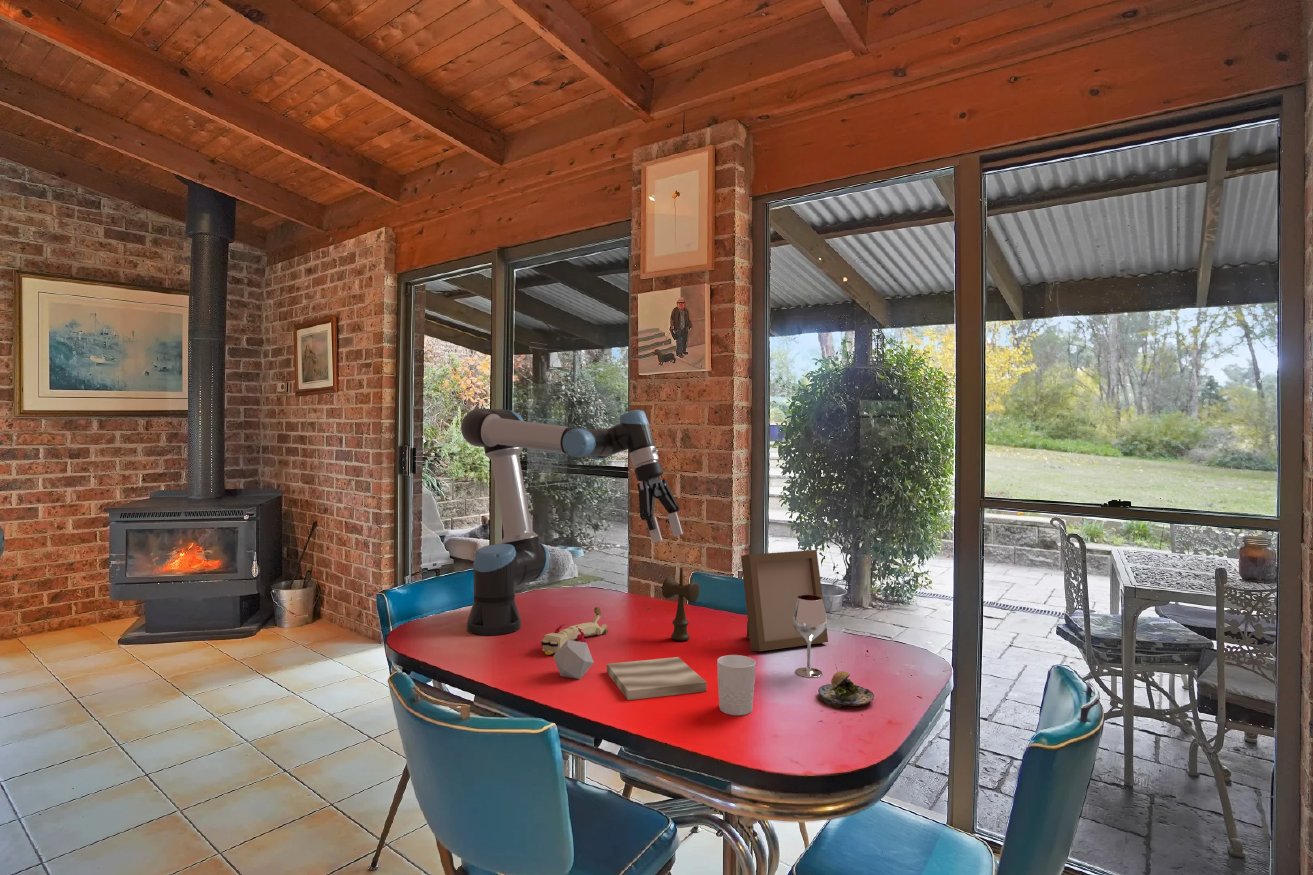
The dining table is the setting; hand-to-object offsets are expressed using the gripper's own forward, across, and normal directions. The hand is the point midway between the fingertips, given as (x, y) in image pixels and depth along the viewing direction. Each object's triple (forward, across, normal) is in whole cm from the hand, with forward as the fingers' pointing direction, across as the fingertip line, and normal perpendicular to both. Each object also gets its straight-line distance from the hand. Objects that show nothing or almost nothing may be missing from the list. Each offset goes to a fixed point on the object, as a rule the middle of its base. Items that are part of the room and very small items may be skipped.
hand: (668, 538), depth 191 cm
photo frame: (+36, +12, -17) cm, 42 cm away
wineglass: (+40, -8, -30) cm, 50 cm away
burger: (+44, -21, -40) cm, 63 cm away
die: (+24, -36, +16) cm, 46 cm away
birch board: (+30, -30, -1) cm, 43 cm away
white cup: (+37, -37, -22) cm, 57 cm away
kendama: (+28, +2, +6) cm, 28 cm away
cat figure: (+20, -15, +28) cm, 38 cm away
